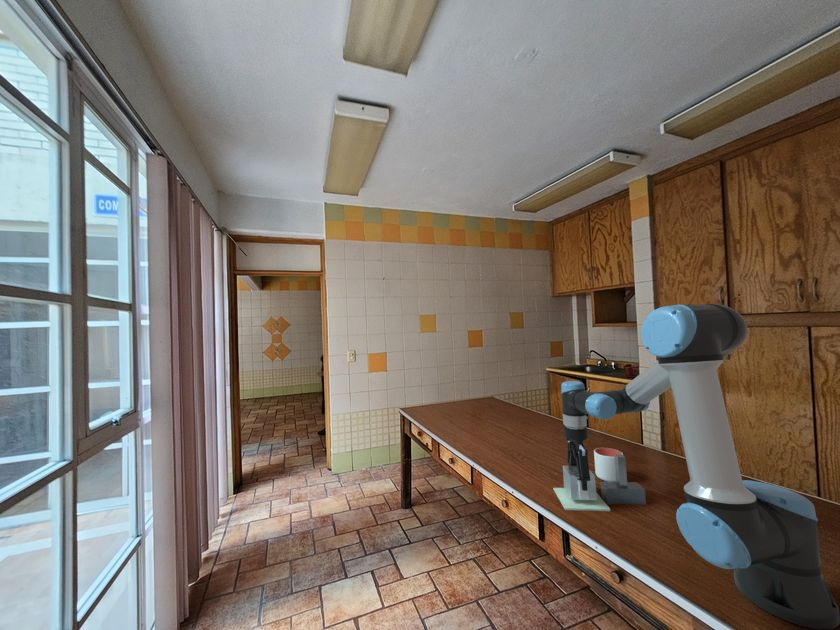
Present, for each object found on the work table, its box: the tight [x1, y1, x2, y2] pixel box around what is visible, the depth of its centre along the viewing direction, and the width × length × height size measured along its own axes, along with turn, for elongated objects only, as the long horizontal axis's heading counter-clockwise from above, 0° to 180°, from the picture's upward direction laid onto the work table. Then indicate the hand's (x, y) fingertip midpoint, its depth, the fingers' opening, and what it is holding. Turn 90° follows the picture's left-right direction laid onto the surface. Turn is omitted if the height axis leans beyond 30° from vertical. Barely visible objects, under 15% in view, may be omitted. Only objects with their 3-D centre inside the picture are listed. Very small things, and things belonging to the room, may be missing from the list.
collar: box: [562, 465, 597, 500], centre depth 114 cm, size 8×8×8 cm
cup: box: [593, 447, 624, 482], centre depth 129 cm, size 10×10×10 cm
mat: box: [553, 487, 611, 512], centre depth 114 cm, size 14×14×1 cm
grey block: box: [599, 454, 647, 506], centre depth 112 cm, size 5×12×15 cm, turn 83°
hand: (579, 492), depth 114 cm, fingers closed on collar, 8 cm apart
